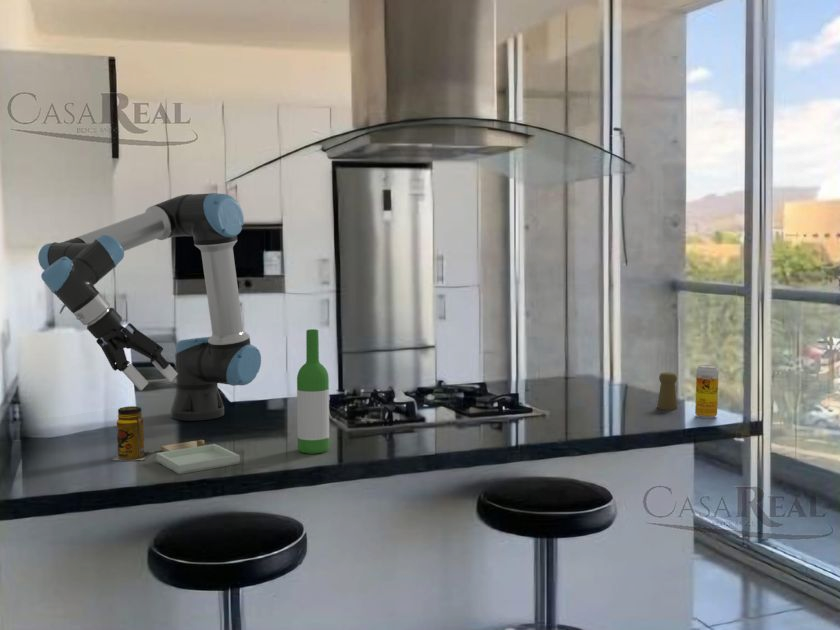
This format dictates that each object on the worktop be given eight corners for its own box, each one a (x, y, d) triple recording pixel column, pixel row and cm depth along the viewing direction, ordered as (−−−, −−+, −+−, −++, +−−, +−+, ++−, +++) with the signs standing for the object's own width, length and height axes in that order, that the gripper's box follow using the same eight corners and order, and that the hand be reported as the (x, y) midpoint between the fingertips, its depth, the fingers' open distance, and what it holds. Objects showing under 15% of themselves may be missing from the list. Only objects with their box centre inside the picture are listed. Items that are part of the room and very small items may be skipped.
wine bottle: (291, 451, 207) (289, 330, 205) (312, 445, 214) (310, 327, 211) (315, 456, 203) (314, 332, 200) (335, 449, 210) (334, 329, 207)
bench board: (195, 444, 214) (195, 434, 214) (209, 450, 208) (208, 440, 208) (161, 450, 209) (161, 440, 209) (173, 456, 203) (173, 446, 202)
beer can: (695, 418, 247) (696, 367, 245) (695, 413, 252) (696, 364, 251) (717, 419, 245) (719, 368, 244) (716, 415, 251) (718, 365, 249)
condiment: (111, 461, 199) (109, 410, 198) (124, 451, 207) (122, 403, 206) (142, 461, 199) (140, 411, 198) (154, 452, 207) (152, 403, 206)
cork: (679, 409, 259) (680, 374, 258) (659, 409, 259) (660, 374, 258) (674, 405, 265) (675, 371, 264) (654, 405, 265) (655, 370, 264)
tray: (215, 451, 207) (214, 443, 207) (239, 463, 197) (239, 455, 196) (156, 461, 198) (156, 453, 198) (179, 474, 188) (179, 465, 187)
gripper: (63, 337, 202) (123, 400, 210) (114, 315, 186) (177, 384, 194) (84, 317, 207) (142, 380, 215) (135, 294, 191) (196, 363, 199)
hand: (158, 382), depth 204 cm, fingers open, 13 cm apart
